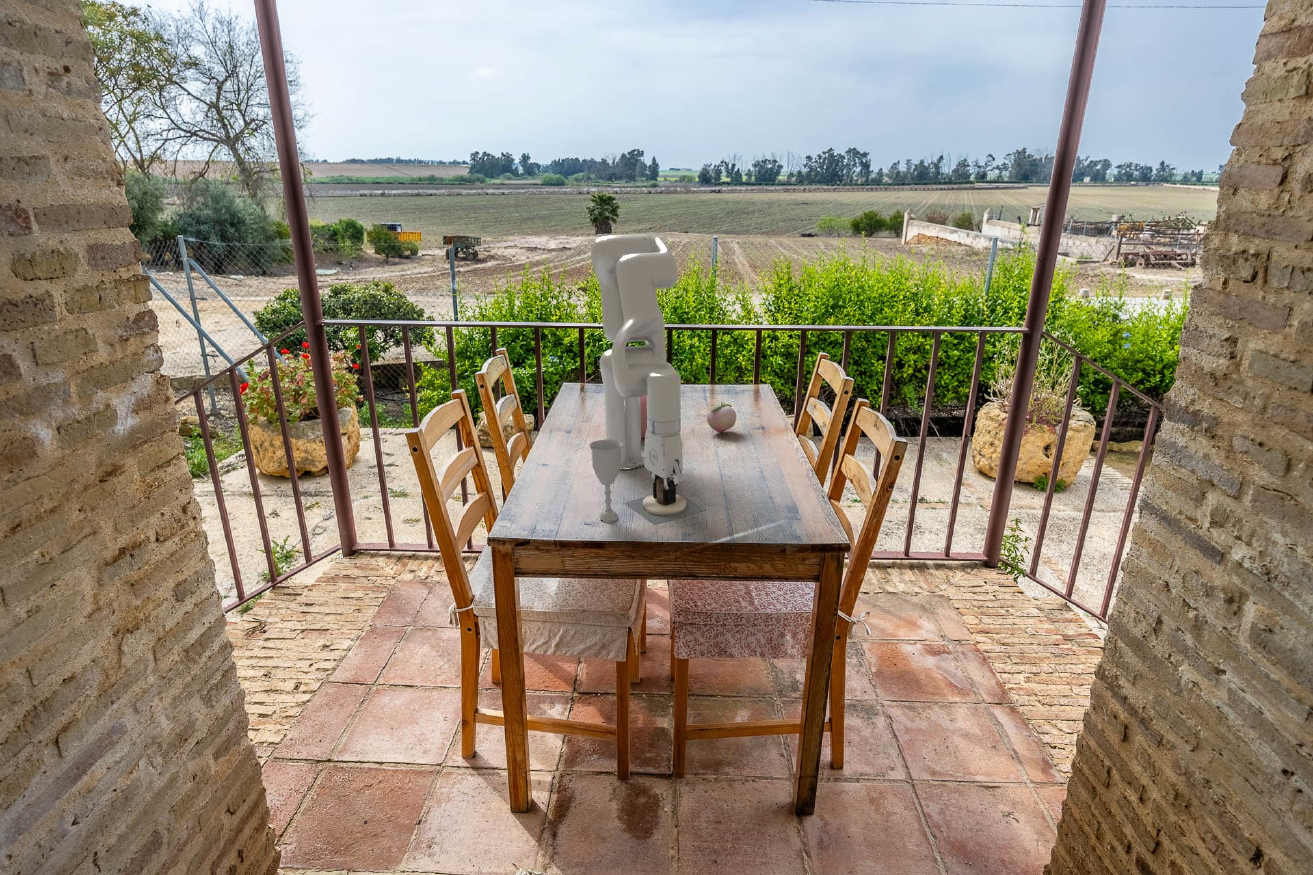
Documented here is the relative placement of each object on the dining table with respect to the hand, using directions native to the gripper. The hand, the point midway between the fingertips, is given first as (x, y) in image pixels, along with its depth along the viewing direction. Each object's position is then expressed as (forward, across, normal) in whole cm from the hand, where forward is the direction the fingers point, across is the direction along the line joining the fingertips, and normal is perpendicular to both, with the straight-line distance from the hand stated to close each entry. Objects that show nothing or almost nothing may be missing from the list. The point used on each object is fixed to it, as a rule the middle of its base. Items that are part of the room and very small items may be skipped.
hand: (664, 499), depth 162 cm
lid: (+2, 0, 0) cm, 2 cm away
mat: (+2, 0, 0) cm, 2 cm away
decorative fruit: (+2, -37, +44) cm, 58 cm away
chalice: (+2, -2, -14) cm, 14 cm away
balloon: (+2, -50, +23) cm, 55 cm away
